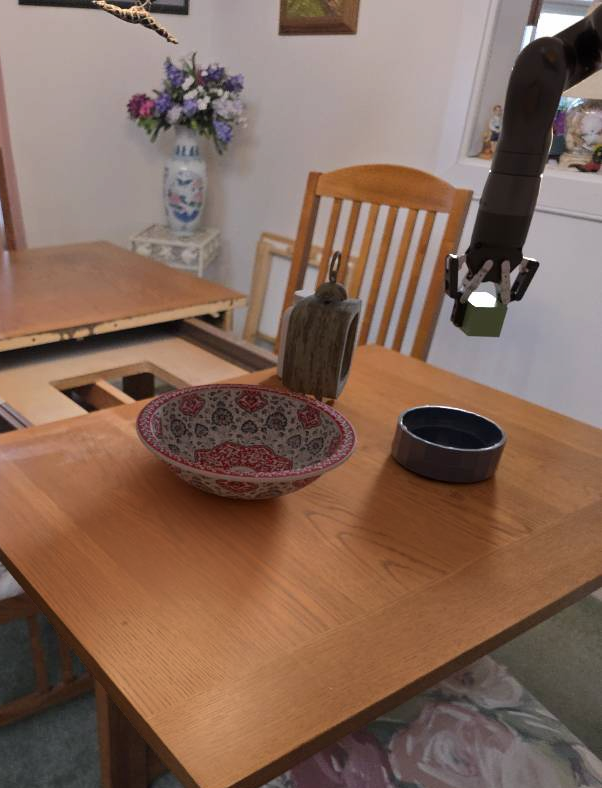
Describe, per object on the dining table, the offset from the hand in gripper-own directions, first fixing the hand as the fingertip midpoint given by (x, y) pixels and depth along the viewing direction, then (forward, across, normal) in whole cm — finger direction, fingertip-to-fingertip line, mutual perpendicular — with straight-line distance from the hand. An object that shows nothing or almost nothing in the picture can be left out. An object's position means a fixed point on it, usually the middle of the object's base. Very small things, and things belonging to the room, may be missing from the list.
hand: (474, 326), depth 110 cm
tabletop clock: (+15, -23, +2) cm, 28 cm away
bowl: (+15, -7, -16) cm, 23 cm away
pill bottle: (+15, -24, +16) cm, 33 cm away
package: (0, 0, 0) cm, 0 cm away
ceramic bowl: (+15, -38, -23) cm, 47 cm away
